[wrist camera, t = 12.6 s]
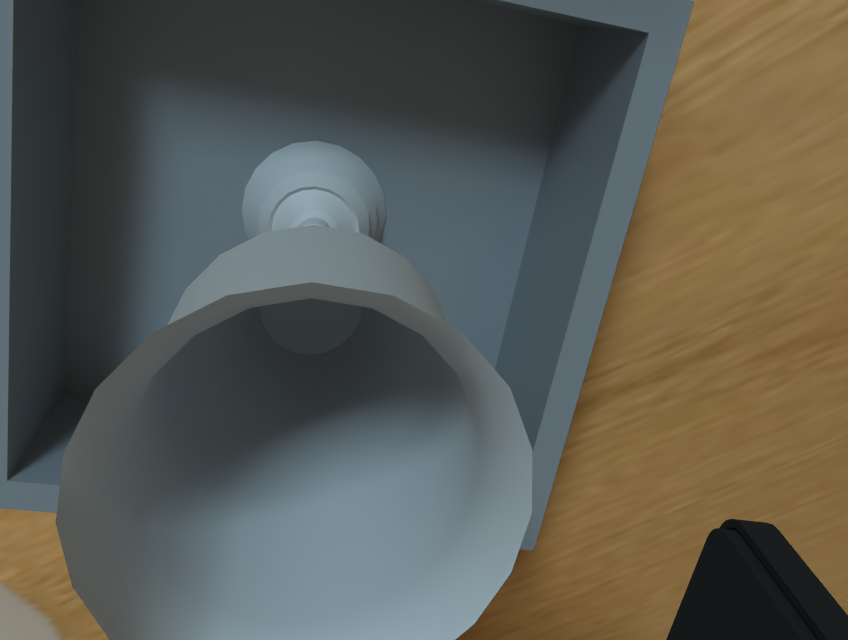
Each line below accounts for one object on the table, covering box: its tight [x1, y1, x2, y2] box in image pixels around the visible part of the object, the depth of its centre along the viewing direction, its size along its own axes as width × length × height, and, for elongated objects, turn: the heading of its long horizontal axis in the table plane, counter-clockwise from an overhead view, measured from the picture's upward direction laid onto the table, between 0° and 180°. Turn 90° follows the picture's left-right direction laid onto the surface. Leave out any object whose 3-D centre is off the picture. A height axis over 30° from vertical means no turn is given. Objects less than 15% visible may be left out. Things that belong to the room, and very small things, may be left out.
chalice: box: [56, 141, 532, 640], centre depth 20 cm, size 7×7×18 cm
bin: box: [0, 0, 694, 551], centre depth 26 cm, size 18×18×7 cm
